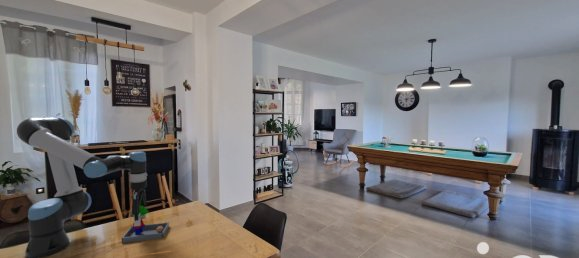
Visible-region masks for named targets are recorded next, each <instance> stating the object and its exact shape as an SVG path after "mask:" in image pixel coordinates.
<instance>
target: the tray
mask: <svg viewBox="0 0 579 258" xmlns="http://www.w3.org/2000/svg"><path fill="white" fill-rule="evenodd" d="M159 226H162V227H163V228H164V230H163V232H161V233H158V232H157V231H156V229H157V228H158V227H159ZM132 227H133V225H132V226H130V227H129V229H127V231H126V232H125V233H124V234H123V236H122V237H121V244H125V243H132V242H141V241H149V240H157V239H164V237H165V236H166V234H167V231H168V229H169V227H170V222H159V223H151V224H150V223H148V224H145V226H144V227H143V232H142V233H141V234H140V235H135V229H132Z"/></svg>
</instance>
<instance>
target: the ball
mask: <svg viewBox="0 0 579 258" xmlns="http://www.w3.org/2000/svg"><path fill="white" fill-rule="evenodd" d="M163 230H164V228H163V227H162V226H159V227H158V228H157V229H156V231H157V232H158V233H161V232H163Z"/></svg>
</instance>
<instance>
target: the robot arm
mask: <svg viewBox="0 0 579 258" xmlns="http://www.w3.org/2000/svg"><path fill="white" fill-rule="evenodd" d="M74 133H75V128H74V125H73V123H72V122H71V121H70V120H68V119H66V118H63V117H55V116H53V117H29V118H26V119H24V120H23V121H21V122H20V123H19V124H18V125H17V127H16V134H17V137H18V138H19V139H20V141H22V142H23V143H25V144H27V145H28V146H30V147H33V148H36V147H37V148H40V149H42V150H44V151H46V152H47V153H46V154H47V157H48V161H49V164H50V169H51V173H52V178H53V180H54V184H55V189H56V191H57V192H56V193H55V194H54V196H53V198H48V199H47V198H46V200H44V199H43V200H40V201H37V202H35V203H34V204H32V205H30V207H29V209H28V214H27V218H28V227H29V240H28V242H27V245H26V248H25V255H24V256H25V257H26V258H27V257H28V258H37V257H40V258H45V257H47V256H51V255H55V254H56V253H59V252H61V251H63V250H65V249H66V248H68V247H69V245H70V238H69V236H68V234H67V233H66V231H65V226H64V222H66V221H68V220H70V219H72V218H74V217H77V216H79V215H81V214H83V213H85V212H86V211H87V210H89V208H90V207H91V205H92V197H91V195H90V193H88V192H87V191H84V188H83V187H81V186H79V183H78V179H77V175H76V171H75V167H74V166H76V167H78V168H80V169H82V170H83V173H84V174H85V176H86V177H87V178H90V179H95V178H101V177H103V176H106V175H108V174H111V173H115V172H118V171H129V181H130V183H129V185H130V190H133V191H134V192H133V195H131V199H132V201H131V213H132V215H134V218H133V223H134V226H140V225H141V224H140V213H139V211H140V206H144V207H145V208H146V207H147V206H148V204H147V194H146V188H147V187H148V181H147V176H148V173H147V156H146V155H147V153H146V152H145V151H131V152H129V154H128V155H117V154H114V155H109V156H107V157H106V158H101V157H98V156H96V155H94V154H93V153H90V152H88V151H87V150H84V149H82V148H80V147H79V146H77V145H75V144H73V143H71V141H72V139H71V137H72V136H73V135H74ZM146 215H147V214H146ZM146 215H145V217H144V218H143V219H142V220H146V217H147V216H146ZM44 256H45V257H44Z"/></svg>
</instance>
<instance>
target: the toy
mask: <svg viewBox="0 0 579 258" xmlns="http://www.w3.org/2000/svg"><path fill="white" fill-rule="evenodd" d="M139 213H140V224H141V225H140V226H134V222H133V224H132V226H133V227H132V229H135V235H140V234H141V233H142V232H143V227H144V226H145V225H146V224H145V223H144V219H143V218H144V217H145V215H147V214H149V210H148V209H147V208H146V207H144V206H140V211H139ZM130 215H131V217H132V218H133V219H134V215H132V212H131V214H130Z"/></svg>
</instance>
